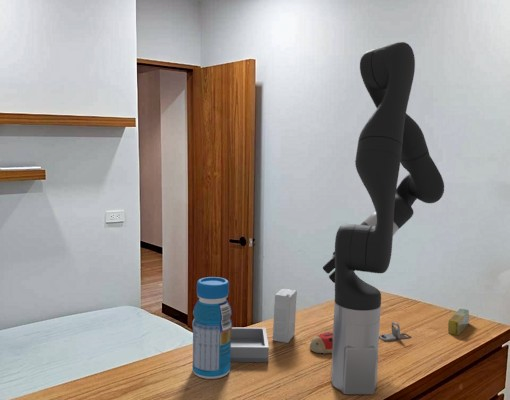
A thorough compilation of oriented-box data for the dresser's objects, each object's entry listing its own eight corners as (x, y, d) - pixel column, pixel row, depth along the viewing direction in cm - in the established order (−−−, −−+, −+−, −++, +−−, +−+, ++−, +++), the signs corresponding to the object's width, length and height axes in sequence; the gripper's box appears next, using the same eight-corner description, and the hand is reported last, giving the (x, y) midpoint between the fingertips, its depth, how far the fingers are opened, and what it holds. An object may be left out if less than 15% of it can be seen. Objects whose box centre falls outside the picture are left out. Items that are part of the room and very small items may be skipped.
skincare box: (279, 332, 128) (280, 287, 127) (295, 335, 127) (297, 289, 126) (271, 341, 123) (273, 294, 121) (289, 344, 121) (290, 296, 120)
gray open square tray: (268, 362, 111) (268, 347, 110) (215, 361, 110) (215, 346, 110) (265, 341, 123) (265, 327, 122) (217, 340, 122) (217, 327, 122)
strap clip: (384, 343, 124) (385, 327, 124) (377, 338, 127) (378, 322, 126) (412, 339, 127) (413, 323, 127) (404, 334, 130) (405, 319, 129)
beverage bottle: (195, 382, 100) (196, 287, 98) (188, 364, 108) (189, 276, 106) (235, 378, 103) (237, 285, 100) (226, 360, 111) (227, 274, 109)
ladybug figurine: (303, 347, 120) (304, 333, 119) (334, 340, 125) (335, 326, 124) (320, 358, 114) (321, 343, 114) (352, 350, 119) (353, 336, 119)
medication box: (459, 321, 141) (459, 308, 140) (469, 323, 139) (469, 310, 139) (447, 334, 131) (448, 319, 131) (458, 336, 129) (459, 321, 129)
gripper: (358, 216, 129) (313, 258, 130) (373, 225, 115) (323, 272, 116) (376, 236, 130) (332, 278, 131) (394, 248, 116) (344, 294, 117)
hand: (328, 275), depth 123 cm, fingers open, 8 cm apart
